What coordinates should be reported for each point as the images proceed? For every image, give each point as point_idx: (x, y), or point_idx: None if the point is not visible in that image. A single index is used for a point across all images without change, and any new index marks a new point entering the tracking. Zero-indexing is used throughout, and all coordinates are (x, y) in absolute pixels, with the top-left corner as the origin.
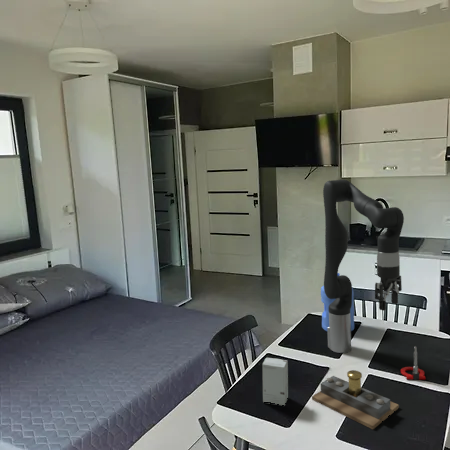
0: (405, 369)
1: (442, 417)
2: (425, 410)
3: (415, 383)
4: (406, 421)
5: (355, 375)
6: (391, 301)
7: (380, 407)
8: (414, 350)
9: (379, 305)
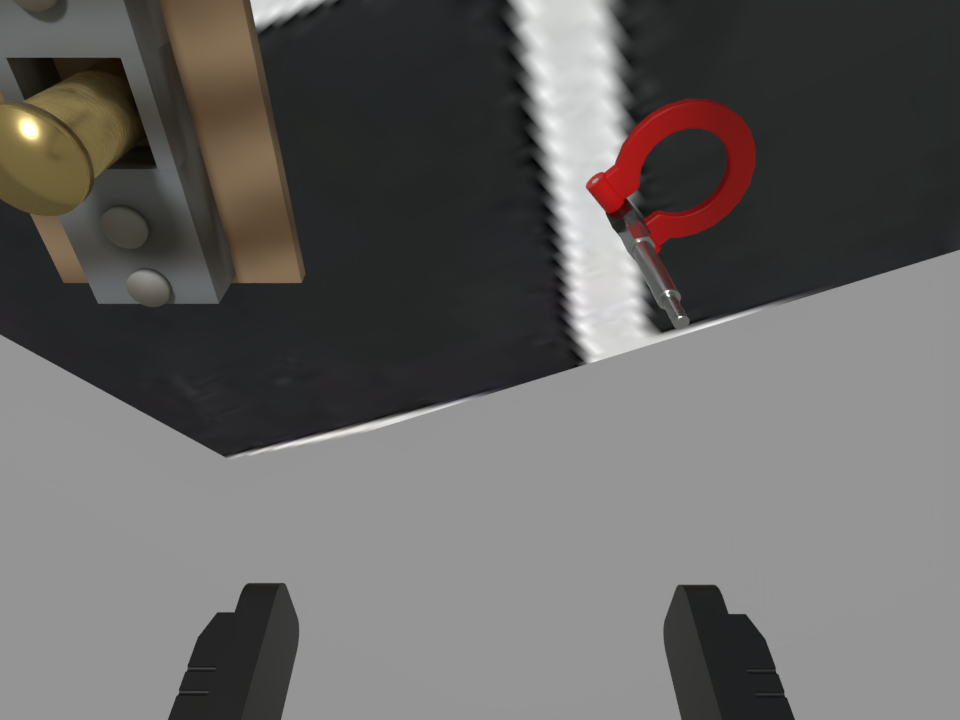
0: (692, 128)
1: (390, 404)
2: (383, 351)
3: (577, 230)
4: (250, 335)
5: (18, 183)
6: (689, 603)
7: (122, 302)
8: (668, 304)
9: (184, 683)
